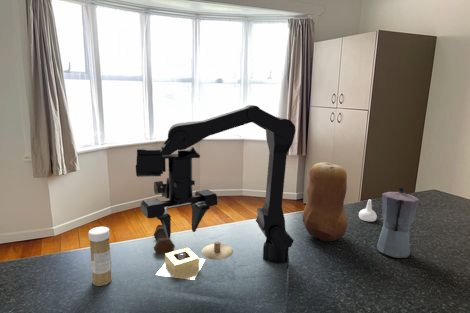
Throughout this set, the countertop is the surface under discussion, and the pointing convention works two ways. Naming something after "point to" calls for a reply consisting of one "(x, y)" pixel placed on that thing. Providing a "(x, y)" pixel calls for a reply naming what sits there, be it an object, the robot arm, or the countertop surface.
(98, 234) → the sprinkles bottle
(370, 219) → the garlic bulb
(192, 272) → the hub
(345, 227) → the butternut squash
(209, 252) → the stand
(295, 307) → the countertop surface
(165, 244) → the bolt
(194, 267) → the brass square sleeve
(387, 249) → the moka pot
